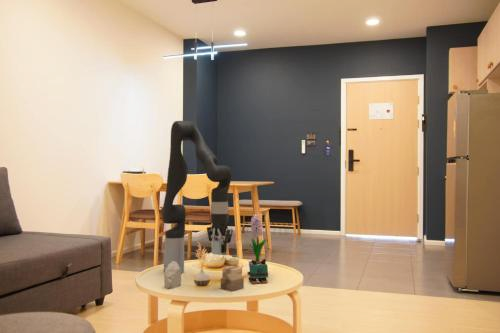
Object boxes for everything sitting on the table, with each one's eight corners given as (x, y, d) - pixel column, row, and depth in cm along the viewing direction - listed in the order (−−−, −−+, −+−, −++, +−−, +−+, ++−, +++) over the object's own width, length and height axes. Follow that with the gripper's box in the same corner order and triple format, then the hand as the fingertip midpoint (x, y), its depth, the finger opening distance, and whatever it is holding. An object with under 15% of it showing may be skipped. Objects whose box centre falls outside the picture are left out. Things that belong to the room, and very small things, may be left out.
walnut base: (220, 288, 188) (220, 278, 188) (231, 285, 194) (231, 275, 194) (232, 292, 184) (232, 281, 184) (243, 288, 189) (243, 278, 189)
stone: (170, 289, 186) (170, 265, 186) (161, 288, 188) (161, 263, 188) (183, 284, 194) (183, 260, 194) (175, 283, 196) (175, 259, 196)
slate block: (211, 253, 187) (211, 240, 187) (219, 252, 191) (219, 239, 191) (219, 254, 184) (219, 241, 184) (226, 253, 188) (226, 240, 188)
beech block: (222, 278, 189) (222, 267, 189) (232, 275, 193) (232, 265, 193) (232, 280, 185) (232, 270, 185) (242, 278, 189) (242, 267, 189)
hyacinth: (272, 276, 209) (273, 213, 209) (257, 280, 201) (258, 215, 201) (258, 273, 215) (259, 212, 215) (243, 277, 207) (244, 213, 207)
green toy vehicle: (263, 257, 207) (269, 259, 197) (263, 280, 206) (270, 283, 196) (244, 258, 204) (250, 260, 195) (245, 281, 203) (251, 284, 194)
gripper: (201, 211, 190) (201, 251, 189) (225, 214, 180) (225, 255, 180) (214, 210, 195) (214, 249, 195) (237, 212, 186) (237, 253, 186)
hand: (219, 252), depth 187 cm, fingers closed on slate block, 4 cm apart
